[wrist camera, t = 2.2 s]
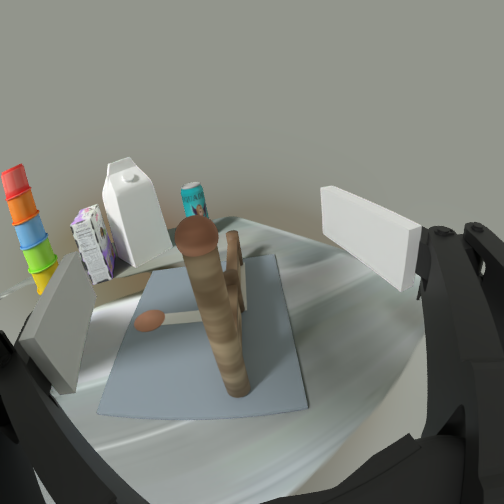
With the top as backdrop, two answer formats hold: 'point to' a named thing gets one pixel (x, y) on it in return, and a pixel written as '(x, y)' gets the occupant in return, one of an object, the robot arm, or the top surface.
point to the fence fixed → (234, 265)
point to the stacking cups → (29, 227)
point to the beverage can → (194, 199)
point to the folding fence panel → (214, 300)
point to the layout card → (204, 353)
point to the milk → (134, 213)
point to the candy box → (94, 244)
